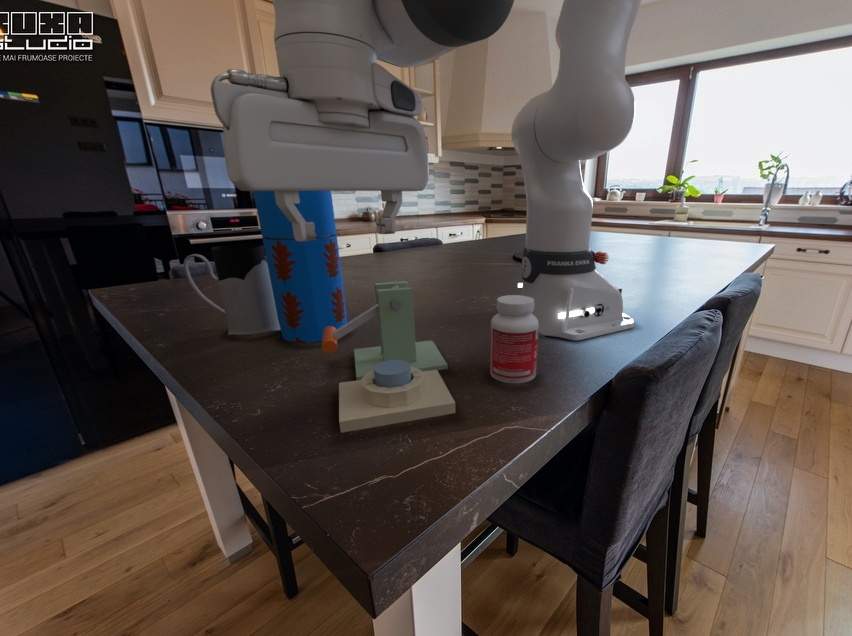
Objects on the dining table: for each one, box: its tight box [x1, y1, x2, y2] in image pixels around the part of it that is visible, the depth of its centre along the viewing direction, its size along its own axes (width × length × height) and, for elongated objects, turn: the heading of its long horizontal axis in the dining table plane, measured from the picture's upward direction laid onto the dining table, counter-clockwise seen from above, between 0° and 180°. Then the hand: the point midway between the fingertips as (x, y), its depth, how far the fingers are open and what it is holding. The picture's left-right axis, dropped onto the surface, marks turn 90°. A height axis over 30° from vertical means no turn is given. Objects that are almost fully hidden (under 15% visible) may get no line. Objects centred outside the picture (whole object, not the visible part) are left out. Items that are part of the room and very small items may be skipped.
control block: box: [338, 366, 456, 434], centre depth 45 cm, size 12×9×4 cm
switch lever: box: [321, 285, 399, 354], centre depth 53 cm, size 12×6×2 cm, turn 108°
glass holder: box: [183, 243, 281, 336], centre depth 68 cm, size 9×14×15 cm, turn 89°
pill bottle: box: [489, 294, 539, 384], centre depth 51 cm, size 6×6×11 cm
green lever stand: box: [353, 280, 449, 381], centre depth 55 cm, size 12×10×12 cm
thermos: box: [253, 191, 348, 344], centre depth 64 cm, size 11×11×25 cm
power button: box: [374, 360, 411, 388], centre depth 44 cm, size 4×4×2 cm
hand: (349, 237), depth 42 cm, fingers open, 8 cm apart
